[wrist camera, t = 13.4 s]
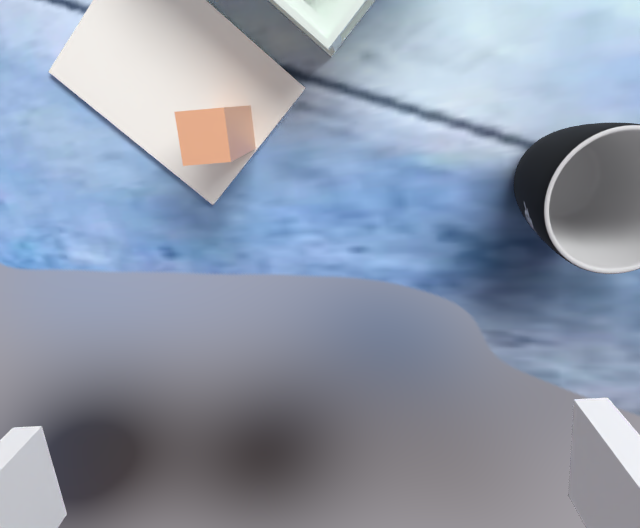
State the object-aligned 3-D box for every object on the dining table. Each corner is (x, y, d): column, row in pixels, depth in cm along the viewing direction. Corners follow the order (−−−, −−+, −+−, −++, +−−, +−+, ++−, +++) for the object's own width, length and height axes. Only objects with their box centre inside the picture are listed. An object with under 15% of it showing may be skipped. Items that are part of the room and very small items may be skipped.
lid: (306, 88, 40) (293, 85, 31) (215, 203, 43) (178, 232, 34) (137, -61, 38) (68, -113, 28) (53, 72, 41) (-34, 64, 31)
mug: (473, 186, 41) (511, 214, 32) (558, 91, 39) (627, 90, 29) (583, 278, 43) (650, 331, 33) (670, 192, 41) (770, 223, 31)
